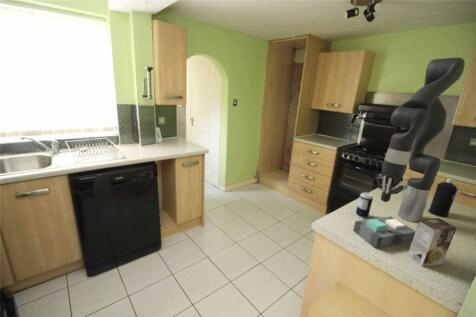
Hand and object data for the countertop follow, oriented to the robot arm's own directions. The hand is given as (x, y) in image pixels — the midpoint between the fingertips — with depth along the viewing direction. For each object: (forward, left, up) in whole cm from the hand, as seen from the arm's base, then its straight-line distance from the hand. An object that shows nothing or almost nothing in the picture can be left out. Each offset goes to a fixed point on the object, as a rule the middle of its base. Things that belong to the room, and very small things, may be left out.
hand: (384, 200), depth 92 cm
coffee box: (-8, +15, -18) cm, 25 cm away
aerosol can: (-54, -10, -18) cm, 58 cm away
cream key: (-10, 0, -16) cm, 19 cm away
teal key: (+1, 0, -15) cm, 15 cm away
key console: (-5, 0, -18) cm, 18 cm away
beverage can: (-9, -16, -18) cm, 26 cm away
